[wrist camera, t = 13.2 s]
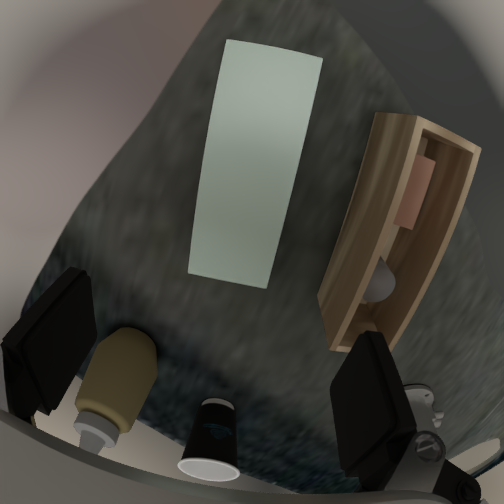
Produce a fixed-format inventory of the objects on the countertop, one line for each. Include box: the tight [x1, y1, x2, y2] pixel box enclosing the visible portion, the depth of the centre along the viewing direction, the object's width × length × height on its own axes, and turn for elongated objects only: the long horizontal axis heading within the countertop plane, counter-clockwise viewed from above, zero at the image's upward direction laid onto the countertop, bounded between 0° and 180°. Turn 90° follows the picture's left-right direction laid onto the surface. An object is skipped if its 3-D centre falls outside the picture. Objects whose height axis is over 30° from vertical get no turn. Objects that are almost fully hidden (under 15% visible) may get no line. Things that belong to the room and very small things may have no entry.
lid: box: [188, 39, 323, 289], centre depth 24 cm, size 7×20×2 cm, turn 169°
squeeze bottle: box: [74, 327, 157, 455], centre depth 27 cm, size 8×8×18 cm
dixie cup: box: [178, 398, 240, 481], centre depth 35 cm, size 8×8×11 cm
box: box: [317, 112, 481, 352], centre depth 23 cm, size 6×19×8 cm, turn 168°
